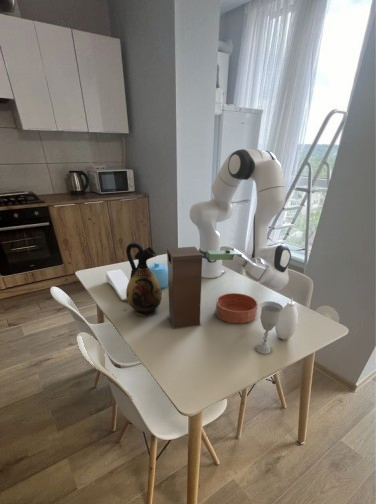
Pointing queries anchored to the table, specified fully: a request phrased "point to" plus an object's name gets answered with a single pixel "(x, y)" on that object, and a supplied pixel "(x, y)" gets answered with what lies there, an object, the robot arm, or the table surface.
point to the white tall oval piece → (287, 321)
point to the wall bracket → (118, 282)
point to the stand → (184, 286)
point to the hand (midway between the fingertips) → (230, 254)
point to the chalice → (268, 322)
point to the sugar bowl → (160, 274)
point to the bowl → (236, 308)
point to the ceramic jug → (142, 282)
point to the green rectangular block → (222, 255)
